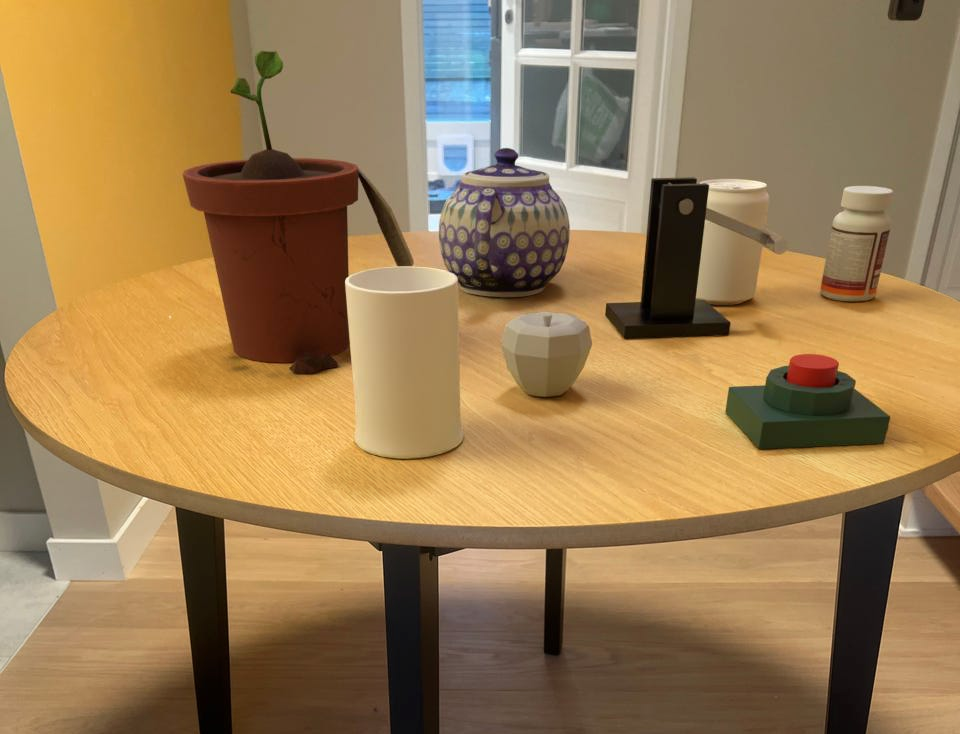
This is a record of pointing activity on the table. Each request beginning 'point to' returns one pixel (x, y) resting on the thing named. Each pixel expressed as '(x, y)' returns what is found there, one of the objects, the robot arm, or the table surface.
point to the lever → (748, 231)
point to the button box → (805, 413)
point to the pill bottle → (857, 244)
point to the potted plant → (285, 244)
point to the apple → (546, 351)
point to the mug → (405, 360)
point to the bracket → (671, 268)
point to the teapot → (504, 230)
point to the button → (812, 370)
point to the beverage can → (731, 242)
